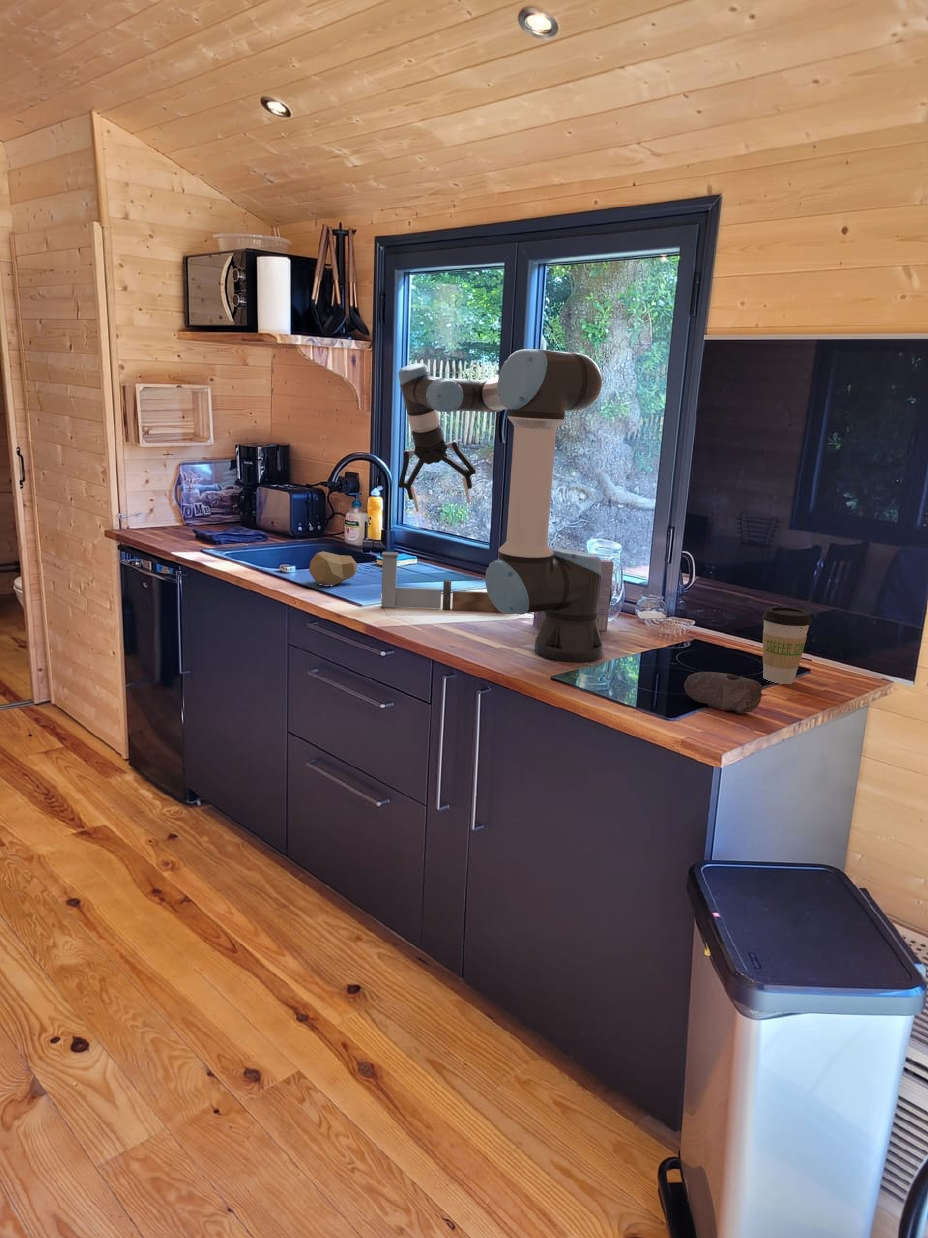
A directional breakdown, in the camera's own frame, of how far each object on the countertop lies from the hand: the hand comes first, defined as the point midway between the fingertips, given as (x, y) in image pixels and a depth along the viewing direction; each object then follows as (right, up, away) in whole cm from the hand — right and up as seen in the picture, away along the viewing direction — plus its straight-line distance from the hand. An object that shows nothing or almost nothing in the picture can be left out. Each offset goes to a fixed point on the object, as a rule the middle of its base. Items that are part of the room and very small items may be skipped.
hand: (443, 505), depth 240 cm
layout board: (+1, -26, +6) cm, 27 cm away
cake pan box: (+32, -32, -11) cm, 47 cm away
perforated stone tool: (+54, -47, -65) cm, 96 cm away
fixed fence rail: (+8, -28, 0) cm, 29 cm away
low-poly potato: (-32, -20, +25) cm, 46 cm away
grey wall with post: (-8, -26, -1) cm, 28 cm away
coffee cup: (+72, -43, -46) cm, 95 cm away
